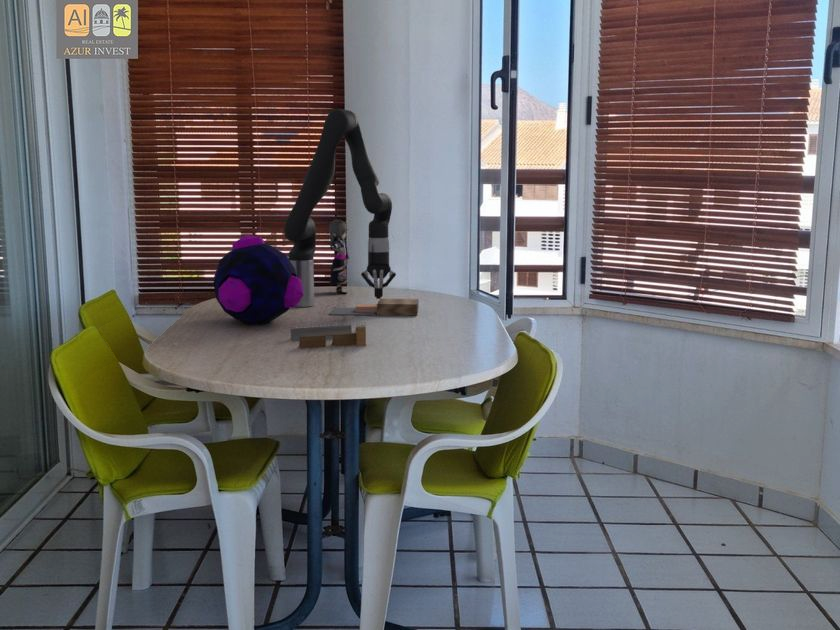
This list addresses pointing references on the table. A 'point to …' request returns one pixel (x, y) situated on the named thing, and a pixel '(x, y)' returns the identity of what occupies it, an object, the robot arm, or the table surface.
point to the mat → (349, 312)
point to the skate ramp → (329, 335)
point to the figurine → (338, 255)
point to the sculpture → (256, 282)
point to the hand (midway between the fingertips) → (378, 298)
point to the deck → (397, 307)
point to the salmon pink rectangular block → (366, 308)
